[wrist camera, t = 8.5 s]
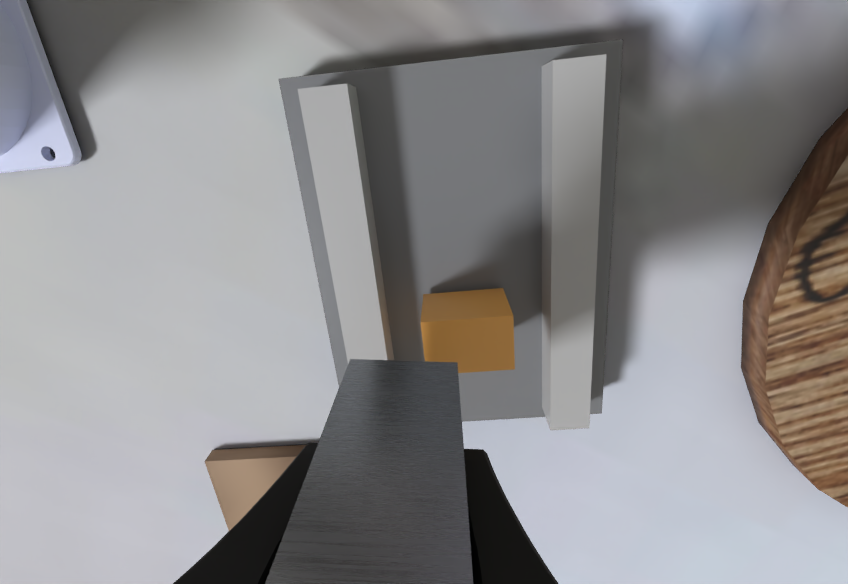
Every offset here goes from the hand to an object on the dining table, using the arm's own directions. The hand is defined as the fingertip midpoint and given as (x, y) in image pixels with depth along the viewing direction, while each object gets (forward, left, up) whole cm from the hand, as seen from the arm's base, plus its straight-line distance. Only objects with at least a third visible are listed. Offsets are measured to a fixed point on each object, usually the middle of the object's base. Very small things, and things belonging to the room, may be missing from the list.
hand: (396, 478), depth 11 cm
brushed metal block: (0, 0, -2) cm, 2 cm away
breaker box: (+2, +3, -9) cm, 10 cm away
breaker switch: (+2, +1, -7) cm, 7 cm away
